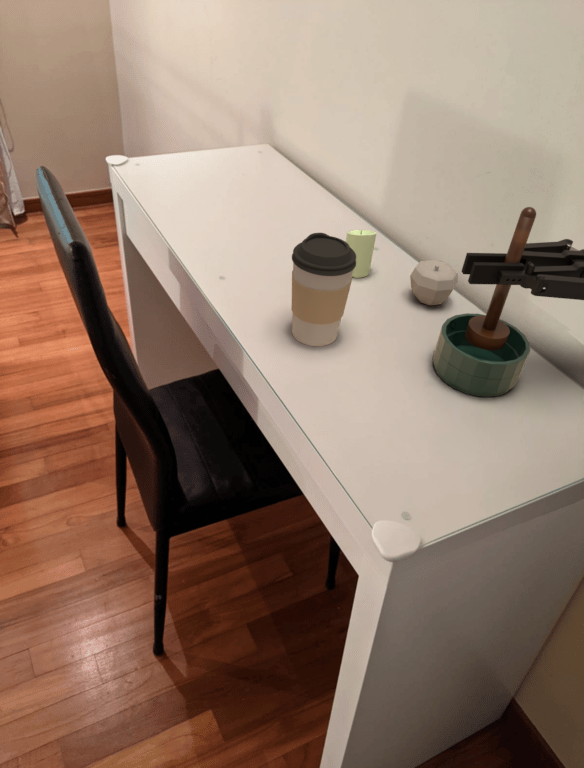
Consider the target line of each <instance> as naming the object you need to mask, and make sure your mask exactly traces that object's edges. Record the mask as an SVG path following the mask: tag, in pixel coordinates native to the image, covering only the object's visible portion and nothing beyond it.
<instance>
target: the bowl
mask: <svg viewBox="0 0 584 768" xmlns="http://www.w3.org/2000/svg"><path fill="white" fill-rule="evenodd" d="M475 316H486V314H481V313H469V312H468V313H460V314H455V315H453V316H450V317H449V318H447V319H446V320H445V321H444V322H443V324H442V325H441V329H440V331H439V335H438V338H437V341H436V345H435V349H434V352H433V357H432V359H433V360H432V362H433V365H434V370H435V372H436V374H437V375H438V376H439V378H440V379H441V380H442V381H443V382H444V383H446V384H447V385H448V386H449V387H451V388H452V389H455V390H457V391H458V392H461V393H464V394H467V395H471V396H475V397H483V398H488V397H489V398H492V397H493V398H494V397H499V396H502V395H505V394H506V393H508V392H510V391H511V390H512V389H513V388H514V387H515V386H516V385H517V383H518V382H519V380H520V377H521V374H522V372H523V370H524V367H525V365H526V362H527V360H528V357H529V355H530V353H531V344H530V341H529V339H528V338H527V336H526V335H525V334H524V333H523V332H522V331H521V330H520V329H518V327H516V326H514V325H513V324H511V323H509V322H507V321H505V320H503V319H500V318H499V320H500V321H502V322H504V323H505V324H506V325H507V326H508V328H509V330H510V333H509V336H508V338H507V341H506V344H505V346H504V347H503V348H501V349H499V350H485V349H481V348H478V347H476V346H474V345H472V344H471V343H470V342H469V341H468V340H467V339H466V336H465V333H466V329H467V326H468V323H469V321H470V319H471V318H473V317H475Z"/></svg>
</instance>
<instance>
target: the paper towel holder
mask: <svg viewBox="0 0 584 768" xmlns="http://www.w3.org/2000/svg"><path fill="white" fill-rule="evenodd" d="M536 218H537V210H536V209H535V208H534V207H532V206H527V207H524V208H523V209H521V211H520V214H519V217H518V220H517V223H516V225H515V229H514V231H513V234H512V238H511V241H510V243H509V247H508V249H507V253H506V254H507V255H506V258H505V261H504V263H519V262H520V260H521V257H522V254H523V251H524V248H525V246H526V243H528V240H529V237H530V235H531V230H532V229H533V226H534V223H535V220H536ZM511 287H512V285H498V284H495V287H494V291H493V293H492V296H491V300H490V301H489V302H490V303H489V305H488V308H487V311H486V314H485V315H486V316H475V317H473V318H471V319H470V321H469V323H468V326H467V329H466V333H465V336H466V339H467V340H468V341H469V342H470V343H471V344H472V345H474V346H476V347H478V348H481V349H485V350H499V349H501V348H503V347H504V346H505V344H506V341H507V338H508V336H509V333H510V330H509V328H508V326H507V325H506V324H505V323H504V322H502V321H500V320H501V319H500V318H501V316H502V312H503V310H504V307H505V304H506V301H507V298H508V295H509V293H510V290H511ZM499 319H500V320H499Z"/></svg>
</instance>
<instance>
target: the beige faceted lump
mask: <svg viewBox="0 0 584 768" xmlns="http://www.w3.org/2000/svg"><path fill="white" fill-rule="evenodd" d="M458 274H459V273H458V272H457V271H456V269H454V267H453V266H452V265H450V264H449V263H447V262H444V261H440V260H437V259H426V260H420V261H419V262H418V263H417V265H416V266H415V267H414V269H412V271H411V273H410V276H409V278H410V279H409V280H410V288H411V291H412V293H413V296H414V297H416V299H417V300H418V301H419V302H420V303H421V304H425V305H426V306H439V305H441V304H443V303H445V302H446V300H448V298H449V297H450V296H451V294H452V292H453V290H455V287H456V286H457V284H458V283H459V276H458Z"/></svg>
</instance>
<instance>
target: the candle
mask: <svg viewBox="0 0 584 768" xmlns="http://www.w3.org/2000/svg"><path fill="white" fill-rule="evenodd" d="M376 238H377V232H376V231H373V230H368V229H367V230H366V229H354V230H352V229H351V230H348V231H347V232H346V236H345V242H346V243H347V244H348V245H349V246H350V248H351V249H353V251H354V252H355V254H356V267H355V268H354V269H353V273H352V278H356V279H361V278H365V277H368V276H369V274H370V270H371V264H372V260H373V254H374V249H375V243H376Z"/></svg>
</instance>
